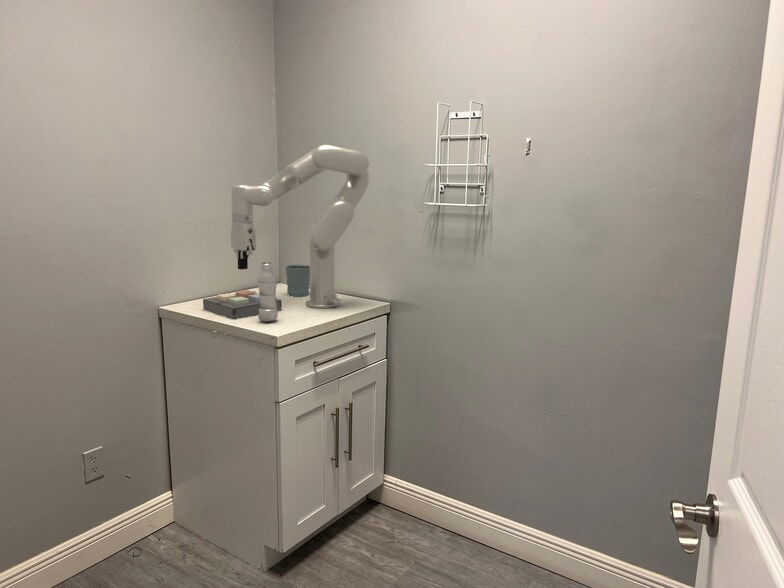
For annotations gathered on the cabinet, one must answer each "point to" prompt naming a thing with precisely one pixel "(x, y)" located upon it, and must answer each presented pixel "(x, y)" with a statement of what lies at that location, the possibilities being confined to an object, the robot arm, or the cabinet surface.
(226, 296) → the sand key
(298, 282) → the teal cup
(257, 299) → the slate key
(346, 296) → the cabinet surface
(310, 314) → the cabinet surface
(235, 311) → the keypad
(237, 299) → the sage key
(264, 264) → the plastic bottle
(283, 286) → the cabinet surface
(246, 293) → the terracotta key
